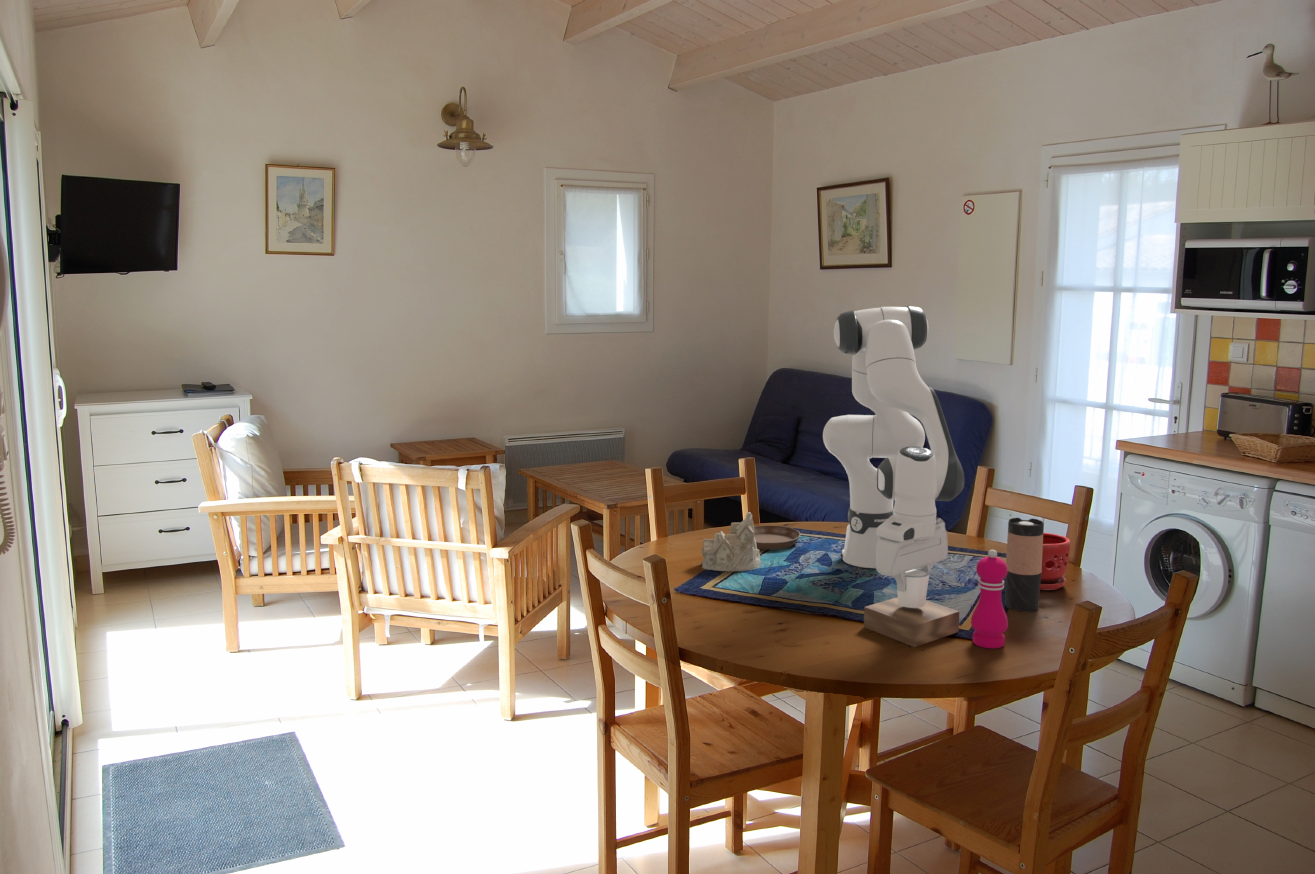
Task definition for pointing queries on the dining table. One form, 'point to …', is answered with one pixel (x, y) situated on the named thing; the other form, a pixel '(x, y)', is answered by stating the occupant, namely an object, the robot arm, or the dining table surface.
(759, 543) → the plant saucer
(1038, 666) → the dining table surface
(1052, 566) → the plant pot
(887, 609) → the walnut base block
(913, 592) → the white cup
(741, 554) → the ceramic cottage
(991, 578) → the pepper mill
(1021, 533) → the travel mug
